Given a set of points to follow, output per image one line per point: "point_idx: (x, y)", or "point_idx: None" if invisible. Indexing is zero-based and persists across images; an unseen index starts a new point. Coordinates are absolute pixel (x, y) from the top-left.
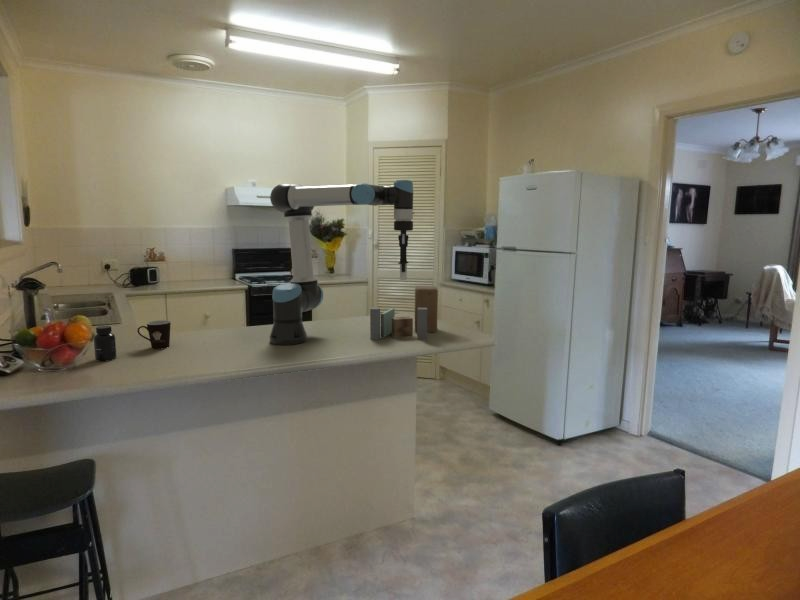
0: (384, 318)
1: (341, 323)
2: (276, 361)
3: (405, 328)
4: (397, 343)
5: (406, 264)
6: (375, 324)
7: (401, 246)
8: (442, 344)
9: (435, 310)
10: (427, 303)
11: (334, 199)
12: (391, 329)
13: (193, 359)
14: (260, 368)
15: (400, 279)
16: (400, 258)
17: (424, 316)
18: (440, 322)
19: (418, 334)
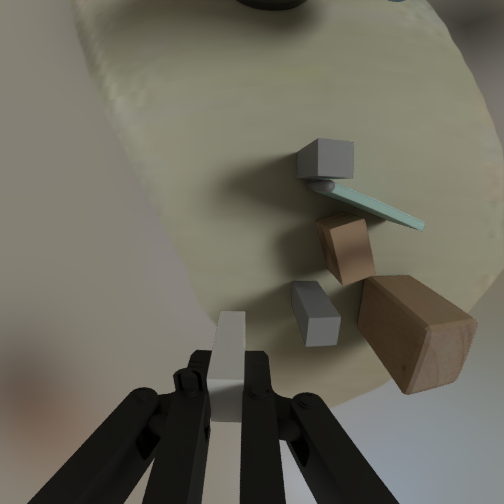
0: (330, 193)
1: (452, 94)
2: (108, 13)
3: (329, 255)
4: (248, 228)
5: (211, 416)
6: (305, 163)
7: (42, 501)
8: None
9: (377, 354)
10: (391, 344)
11: None
12: (370, 212)
13: None
14: (76, 14)
15: (220, 316)
16: (113, 412)
17: (302, 327)
18: None
19: (294, 288)
